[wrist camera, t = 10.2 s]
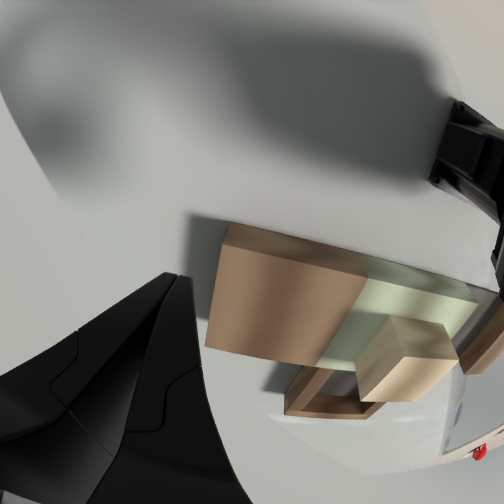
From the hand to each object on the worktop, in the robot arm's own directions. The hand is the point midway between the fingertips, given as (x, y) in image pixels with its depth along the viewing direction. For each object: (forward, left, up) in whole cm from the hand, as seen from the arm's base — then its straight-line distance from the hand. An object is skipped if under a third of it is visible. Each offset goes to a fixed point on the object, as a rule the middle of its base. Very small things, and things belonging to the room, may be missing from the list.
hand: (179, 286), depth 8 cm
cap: (-112, +72, -11) cm, 134 cm away
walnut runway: (-17, +14, -11) cm, 25 cm away
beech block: (-16, +9, -8) cm, 20 cm away
